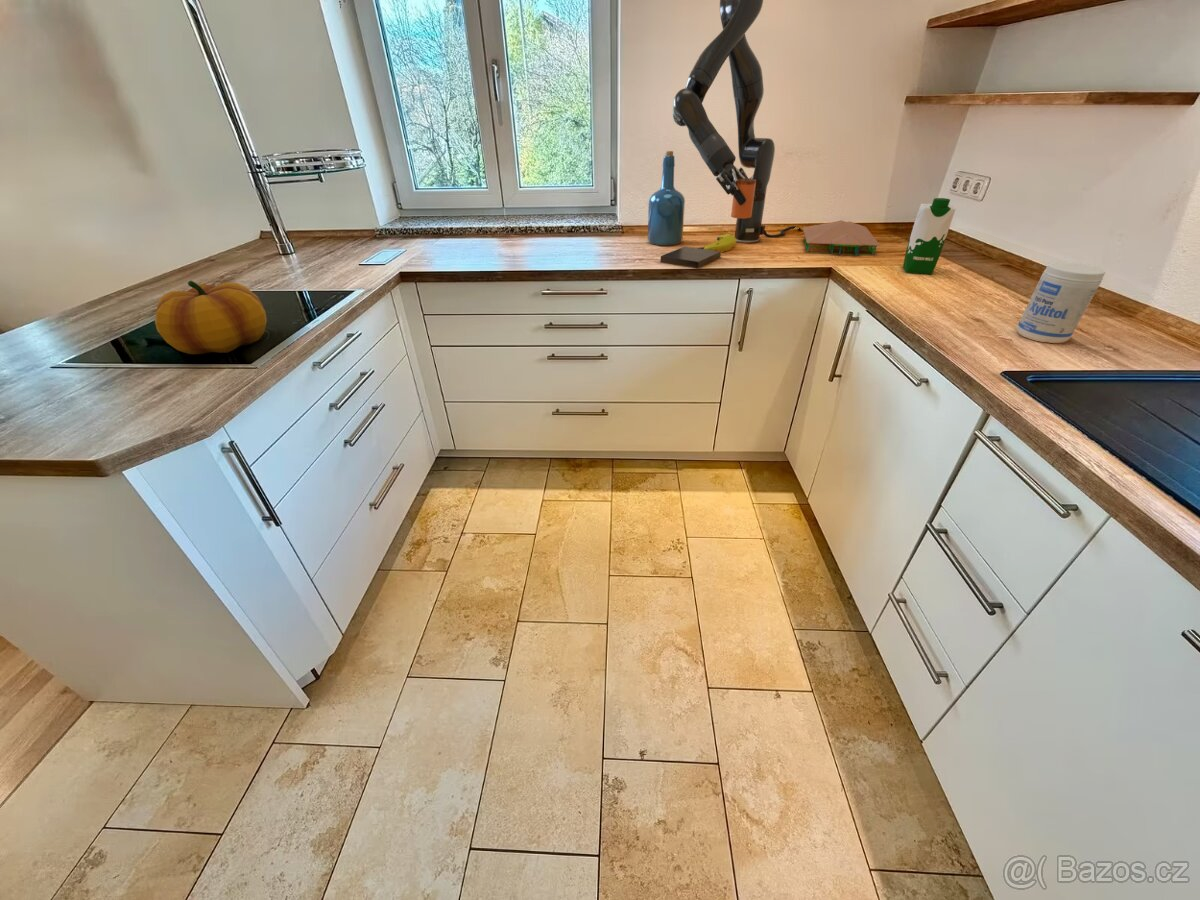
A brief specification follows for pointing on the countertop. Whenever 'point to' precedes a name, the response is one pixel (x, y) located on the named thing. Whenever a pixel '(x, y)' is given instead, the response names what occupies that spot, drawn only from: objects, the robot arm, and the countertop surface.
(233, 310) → the decorative pumpkin
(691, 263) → the board
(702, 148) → the robot arm
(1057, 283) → the supplement tub
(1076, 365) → the countertop surface
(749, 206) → the tin
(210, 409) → the countertop surface
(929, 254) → the milk carton
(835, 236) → the house
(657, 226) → the wine bottle
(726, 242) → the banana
